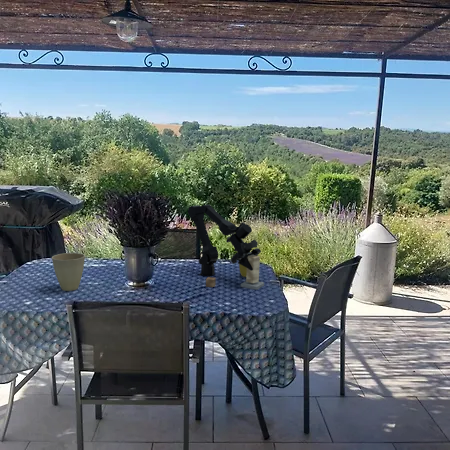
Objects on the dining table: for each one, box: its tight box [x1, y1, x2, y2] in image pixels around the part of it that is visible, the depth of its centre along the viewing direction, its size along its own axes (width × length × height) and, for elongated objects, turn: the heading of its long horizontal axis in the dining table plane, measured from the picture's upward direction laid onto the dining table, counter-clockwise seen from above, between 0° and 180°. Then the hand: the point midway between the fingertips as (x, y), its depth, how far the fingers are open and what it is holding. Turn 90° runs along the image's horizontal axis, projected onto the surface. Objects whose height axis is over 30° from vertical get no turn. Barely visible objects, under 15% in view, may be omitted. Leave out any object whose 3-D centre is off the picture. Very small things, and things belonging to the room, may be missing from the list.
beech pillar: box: [245, 255, 261, 283], centre depth 227 cm, size 4×4×13 cm
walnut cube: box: [205, 276, 217, 288], centre depth 227 cm, size 4×4×4 cm
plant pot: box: [51, 252, 86, 292], centre depth 215 cm, size 15×15×16 cm
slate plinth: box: [240, 280, 265, 290], centre depth 228 cm, size 9×9×2 cm
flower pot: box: [238, 264, 247, 278], centre depth 246 cm, size 9×9×9 cm
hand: (255, 269), depth 226 cm, fingers closed on beech pillar, 4 cm apart
